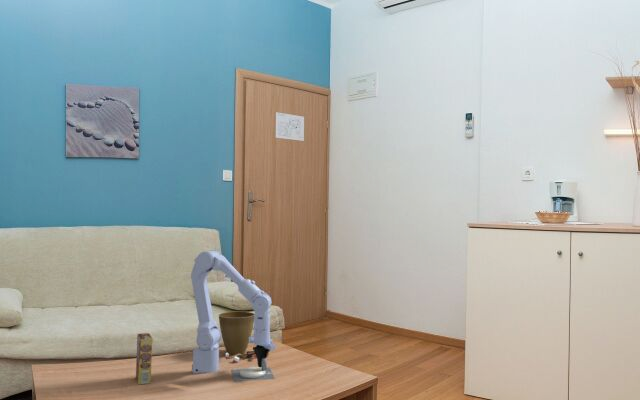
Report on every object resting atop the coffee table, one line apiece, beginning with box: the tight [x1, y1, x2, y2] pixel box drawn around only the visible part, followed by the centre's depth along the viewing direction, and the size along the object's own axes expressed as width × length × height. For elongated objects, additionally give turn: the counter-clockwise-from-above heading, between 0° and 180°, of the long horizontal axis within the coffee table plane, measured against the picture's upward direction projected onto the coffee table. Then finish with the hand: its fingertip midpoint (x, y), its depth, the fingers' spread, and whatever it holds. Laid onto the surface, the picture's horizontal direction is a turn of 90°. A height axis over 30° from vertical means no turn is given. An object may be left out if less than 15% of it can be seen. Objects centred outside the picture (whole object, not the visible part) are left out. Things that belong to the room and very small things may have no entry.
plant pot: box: [218, 310, 254, 356], centre depth 209 cm, size 15×15×16 cm
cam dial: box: [240, 357, 268, 378], centre depth 178 cm, size 9×9×5 cm
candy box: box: [135, 332, 154, 385], centre depth 174 cm, size 9×4×15 cm, turn 26°
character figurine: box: [225, 350, 271, 364], centre depth 200 cm, size 10×18×4 cm, turn 125°
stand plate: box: [231, 367, 276, 383], centre depth 178 cm, size 14×13×1 cm
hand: (261, 366), depth 181 cm, fingers closed
